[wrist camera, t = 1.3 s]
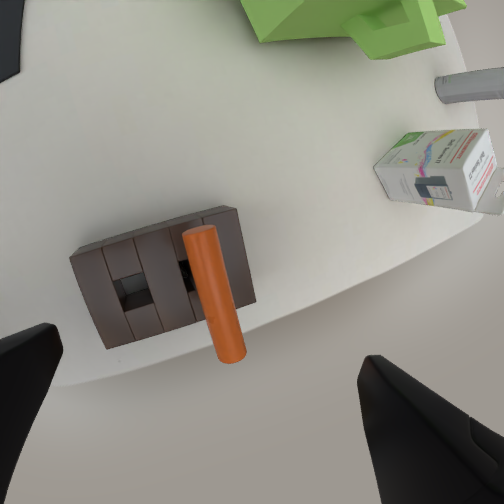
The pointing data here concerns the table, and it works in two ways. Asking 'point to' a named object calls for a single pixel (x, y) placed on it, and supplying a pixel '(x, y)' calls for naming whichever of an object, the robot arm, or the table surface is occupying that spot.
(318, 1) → the light green square pot
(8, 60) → the mat
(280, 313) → the table surface
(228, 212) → the tool rack
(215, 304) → the t handle
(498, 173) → the ink box
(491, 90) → the bottle
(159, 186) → the table surface
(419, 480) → the robot arm
